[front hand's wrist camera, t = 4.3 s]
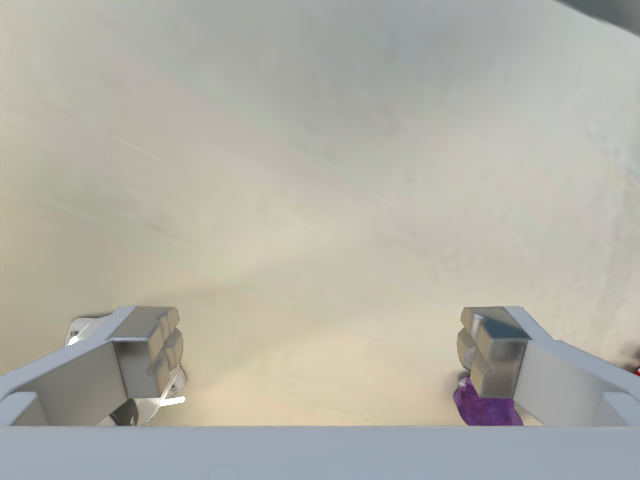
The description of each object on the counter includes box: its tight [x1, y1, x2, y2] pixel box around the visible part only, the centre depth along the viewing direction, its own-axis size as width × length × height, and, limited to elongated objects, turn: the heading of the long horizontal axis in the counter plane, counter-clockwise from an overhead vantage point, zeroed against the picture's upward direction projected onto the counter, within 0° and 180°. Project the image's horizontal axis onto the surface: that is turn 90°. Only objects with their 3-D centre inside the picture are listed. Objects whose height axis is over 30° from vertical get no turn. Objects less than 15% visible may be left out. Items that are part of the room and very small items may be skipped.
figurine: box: [453, 377, 523, 426], centre depth 51 cm, size 9×10×15 cm
